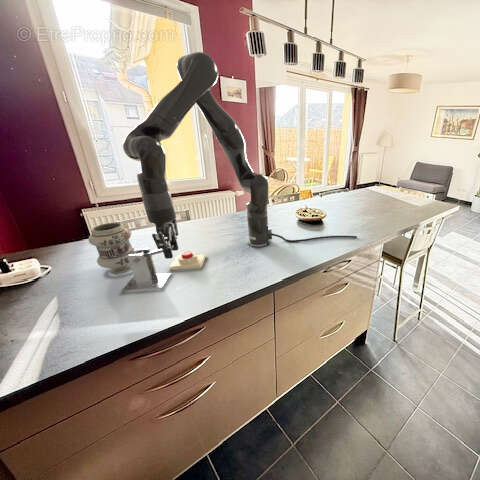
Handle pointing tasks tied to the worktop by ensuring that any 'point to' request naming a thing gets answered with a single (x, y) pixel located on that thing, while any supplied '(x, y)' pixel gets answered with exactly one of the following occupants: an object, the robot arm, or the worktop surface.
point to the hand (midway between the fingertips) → (172, 253)
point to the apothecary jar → (112, 246)
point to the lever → (155, 251)
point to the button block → (188, 261)
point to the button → (187, 254)
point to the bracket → (144, 272)
